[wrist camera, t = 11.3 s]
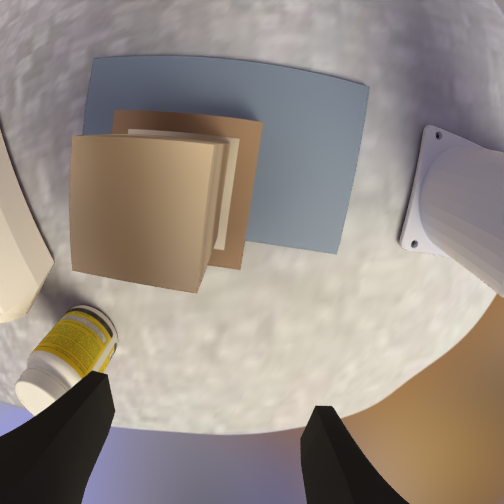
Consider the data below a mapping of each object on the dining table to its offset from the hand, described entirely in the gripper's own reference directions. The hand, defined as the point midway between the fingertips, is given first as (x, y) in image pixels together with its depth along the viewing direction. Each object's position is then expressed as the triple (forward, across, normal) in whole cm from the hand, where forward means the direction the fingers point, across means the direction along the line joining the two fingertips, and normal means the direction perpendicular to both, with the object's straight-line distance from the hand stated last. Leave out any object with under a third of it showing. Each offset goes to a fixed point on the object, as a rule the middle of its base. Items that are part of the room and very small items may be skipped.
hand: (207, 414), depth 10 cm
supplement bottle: (+11, +10, +6) cm, 16 cm away
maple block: (+7, +3, -6) cm, 10 cm away
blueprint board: (+10, +2, -8) cm, 13 cm away
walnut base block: (+10, +3, -6) cm, 12 cm away
